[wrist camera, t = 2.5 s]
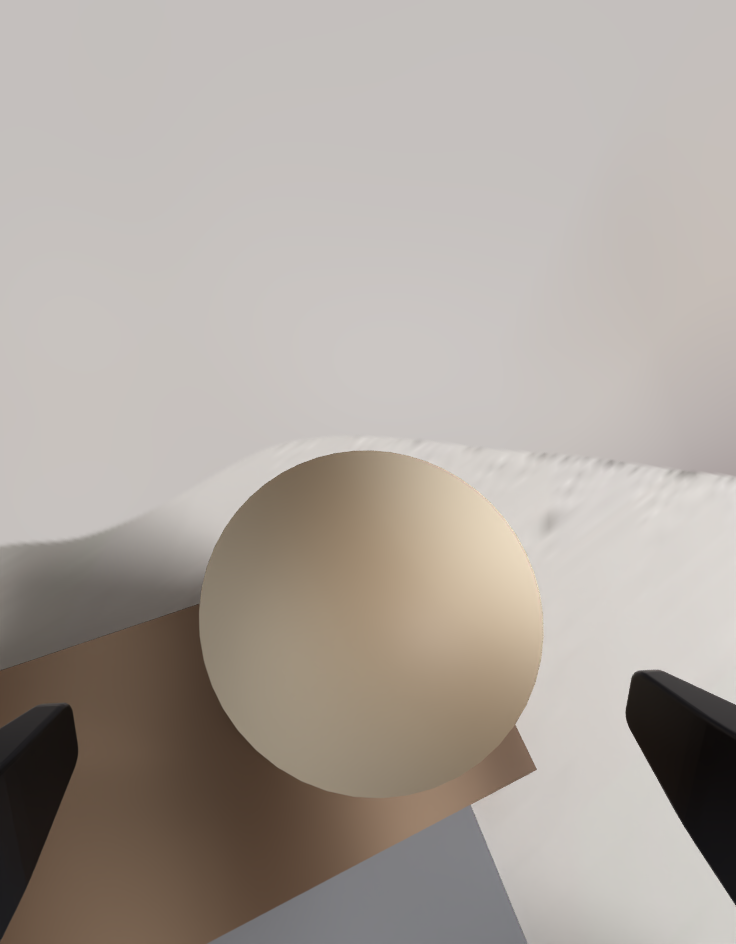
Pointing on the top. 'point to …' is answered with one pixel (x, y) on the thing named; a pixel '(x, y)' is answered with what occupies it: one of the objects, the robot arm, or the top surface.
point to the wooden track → (190, 801)
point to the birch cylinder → (371, 624)
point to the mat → (401, 897)
